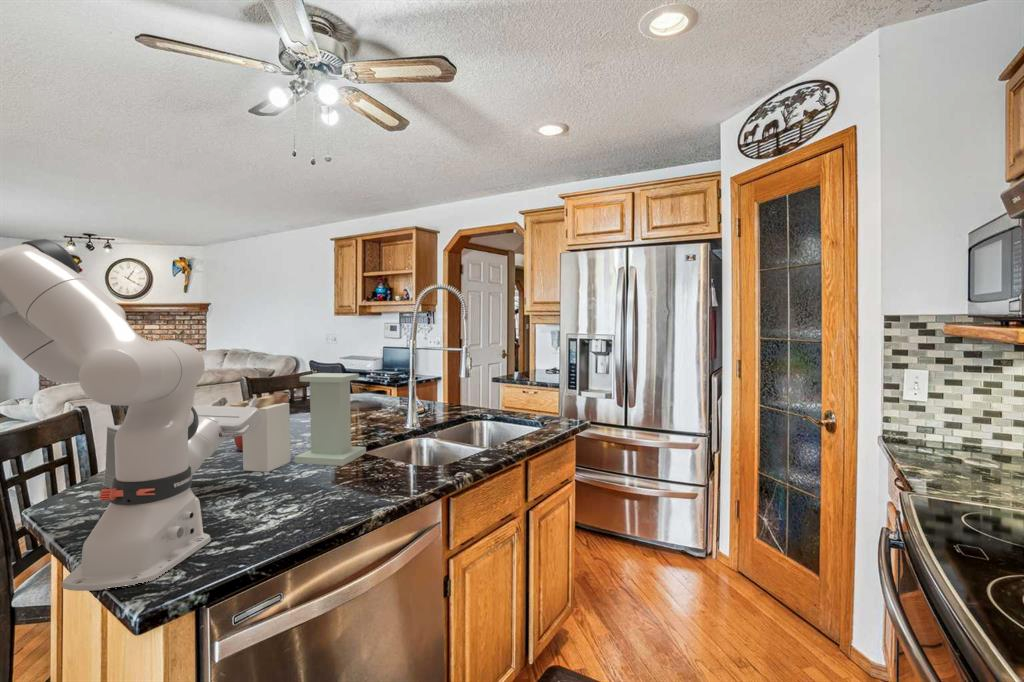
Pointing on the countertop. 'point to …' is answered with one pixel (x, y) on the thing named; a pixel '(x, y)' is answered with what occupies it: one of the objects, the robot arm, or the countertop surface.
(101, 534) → the robot arm
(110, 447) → the skincare box
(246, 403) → the bar
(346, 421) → the shelf stand
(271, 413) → the rest block
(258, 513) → the countertop surface
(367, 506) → the countertop surface
